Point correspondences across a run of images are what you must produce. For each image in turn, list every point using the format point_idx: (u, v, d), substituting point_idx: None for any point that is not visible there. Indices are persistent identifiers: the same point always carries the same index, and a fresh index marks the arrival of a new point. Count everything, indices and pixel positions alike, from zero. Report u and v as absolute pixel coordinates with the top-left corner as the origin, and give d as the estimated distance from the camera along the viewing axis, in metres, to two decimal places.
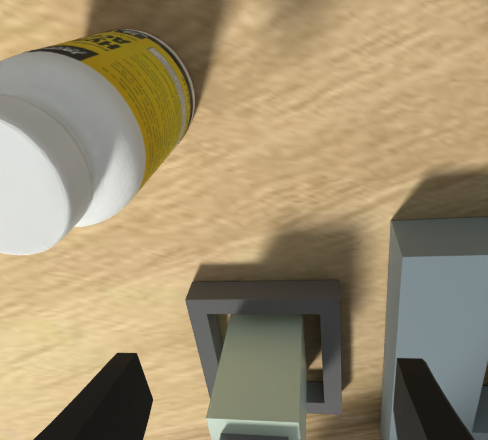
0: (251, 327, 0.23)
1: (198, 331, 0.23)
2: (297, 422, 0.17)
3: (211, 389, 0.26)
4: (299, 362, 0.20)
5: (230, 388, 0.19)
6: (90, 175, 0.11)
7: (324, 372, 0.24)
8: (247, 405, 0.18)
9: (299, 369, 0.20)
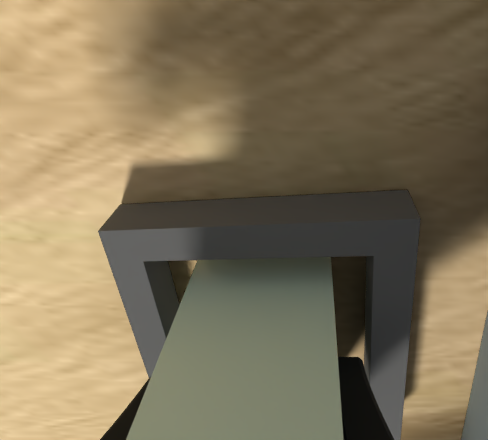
0: (231, 290, 0.11)
1: (131, 298, 0.12)
2: None
3: None
4: (335, 357, 0.09)
5: (173, 420, 0.08)
6: None
7: (373, 377, 0.12)
8: None
9: (336, 373, 0.09)
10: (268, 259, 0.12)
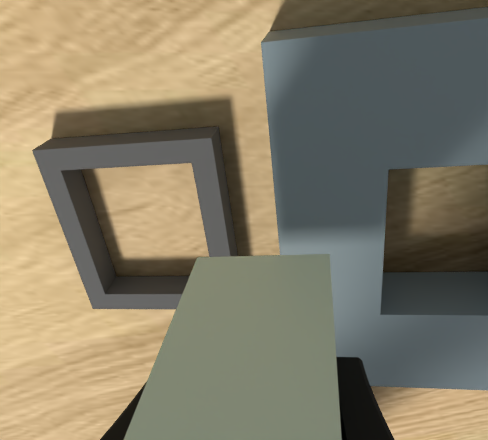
0: (230, 289, 0.11)
1: (56, 197, 0.19)
2: None
3: (86, 280, 0.22)
4: (333, 356, 0.09)
5: (172, 418, 0.08)
6: None
7: (210, 249, 0.19)
8: None
9: (335, 372, 0.09)
10: (267, 258, 0.12)
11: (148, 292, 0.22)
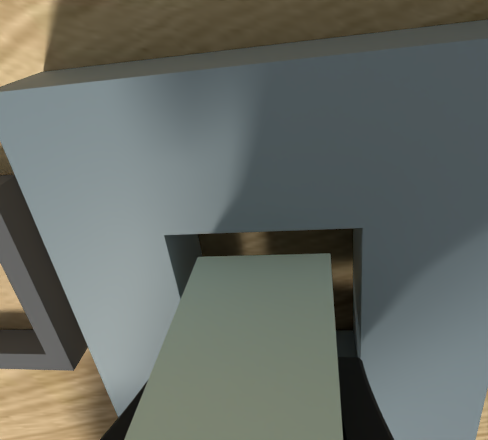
0: (231, 288, 0.11)
1: None
2: None
3: None
4: (334, 356, 0.09)
5: (172, 418, 0.08)
6: None
7: (25, 309, 0.17)
8: None
9: (336, 372, 0.09)
10: (267, 258, 0.12)
11: None
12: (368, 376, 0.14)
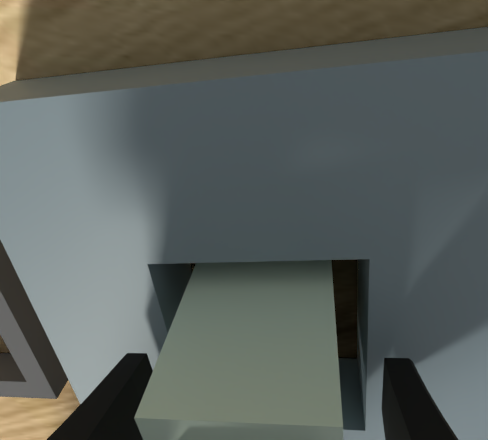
0: None
1: None
2: (339, 426, 0.08)
3: None
4: (332, 306, 0.10)
5: (192, 357, 0.09)
6: None
7: (2, 335, 0.16)
8: (226, 389, 0.09)
9: (333, 319, 0.10)
10: None
11: None
12: (374, 415, 0.13)
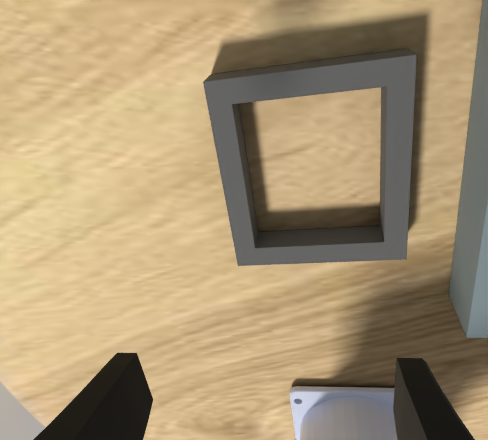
0: None
1: (220, 136, 0.18)
2: None
3: (236, 233, 0.20)
4: None
5: None
6: None
7: (387, 189, 0.18)
8: None
9: None
10: None
11: (303, 244, 0.20)
12: None
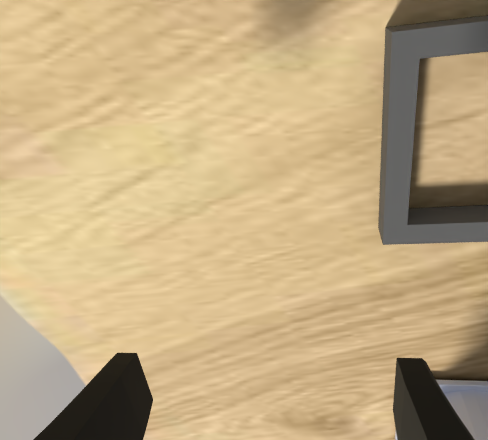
0: None
1: (397, 96, 0.16)
2: None
3: (389, 208, 0.18)
4: None
5: None
6: None
7: None
8: None
9: None
10: None
11: (463, 221, 0.18)
12: None
